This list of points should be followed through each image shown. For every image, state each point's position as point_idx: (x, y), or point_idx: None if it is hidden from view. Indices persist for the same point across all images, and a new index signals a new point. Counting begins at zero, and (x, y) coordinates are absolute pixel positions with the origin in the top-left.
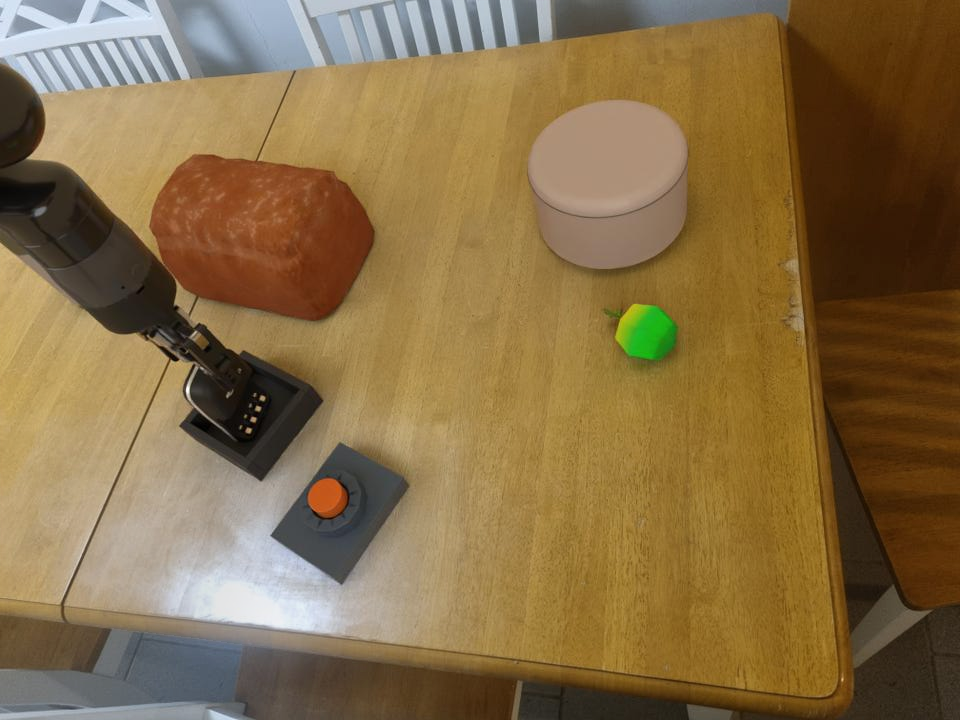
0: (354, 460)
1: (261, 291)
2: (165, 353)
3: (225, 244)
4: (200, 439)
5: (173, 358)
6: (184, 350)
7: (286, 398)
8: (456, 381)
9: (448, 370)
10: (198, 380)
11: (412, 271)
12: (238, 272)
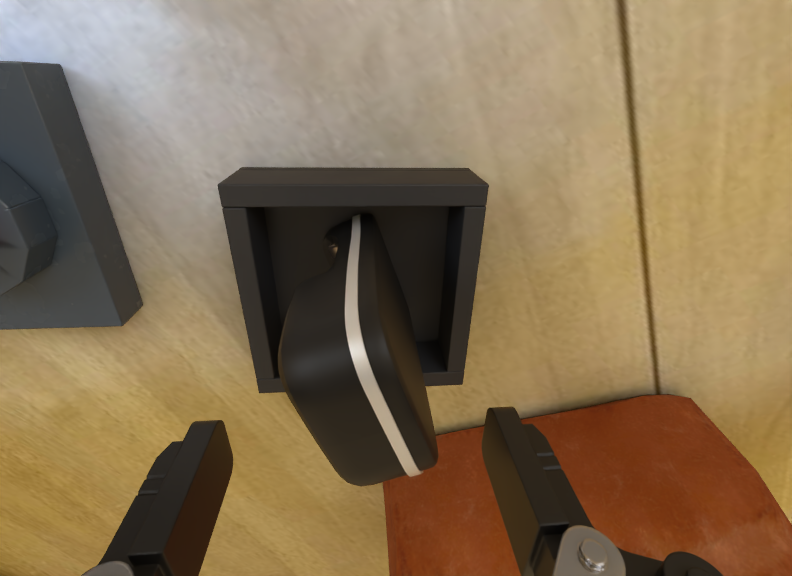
0: (54, 312)
1: (488, 493)
2: (511, 458)
3: None
4: (400, 185)
5: (495, 424)
6: (484, 446)
7: None
8: (104, 460)
9: (132, 466)
10: (345, 402)
11: (319, 534)
12: None
